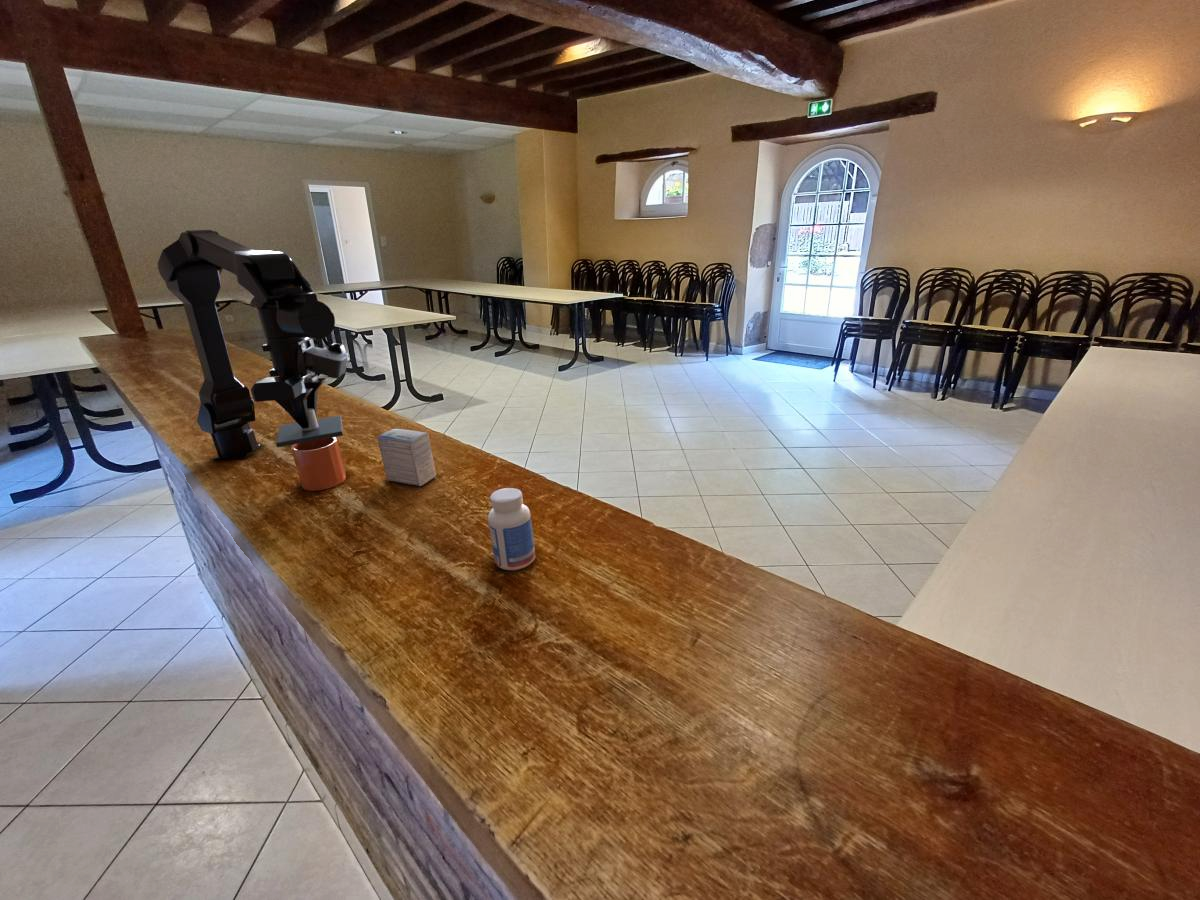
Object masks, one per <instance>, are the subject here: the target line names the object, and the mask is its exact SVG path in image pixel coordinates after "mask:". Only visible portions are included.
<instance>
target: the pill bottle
mask: <svg viewBox="0 0 1200 900" xmlns="http://www.w3.org/2000/svg"><path fill="white" fill-rule="evenodd" d="M489 498H490V506H491V508H492V509H491V510H490V511H489V512H488V516H487V521H488V528H489V532H490V533H489V534H490V539H491V546H492V553H493V559H494V562H495V564H496V566H497V567H498V568H500V569H502V570H506V571H517V570H521V569H524V568H526V567H528V566H530V565H531V564H532V563H533V562H534V560H535V558H536V550H535V542H534V533H533V526H532V519H531V511H530V508H529V506H527V505H525V504H524V499H523V493H522V491H521V490H520V489H519V488H514V487H505V488H500V489H497V490H495V491H493V492H492V493H491V494H490V497H489Z"/></svg>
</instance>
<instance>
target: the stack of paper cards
mask: <svg viewBox="0 0 1200 900" xmlns="http://www.w3.org/2000/svg"><path fill="white" fill-rule="evenodd" d="M377 443H378V446H379V451H380V456H381V459H382V465H383V469H384V473H385V478H386V480H387V481H390V482H396V483H401V484H406V485H407V484H408V485H413V486H418V487H421V486H423V485H425V484H427V483H428V482H430V481H431V480H434V478H436V477H437V473H436V468H435V463H434V458H433V453H432V447H431V441H430V437H429V434H428V432H425V431H424V432H423V431H417V430H412V429H411V430H409V429H402V428H392V429H390V430H387V431H385V432H384V433H382V434H380V435H378V436H377Z"/></svg>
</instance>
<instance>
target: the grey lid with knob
mask: <svg viewBox="0 0 1200 900" xmlns="http://www.w3.org/2000/svg"><path fill="white" fill-rule="evenodd" d="M308 417H309V427H308V428H302V427H301V426H300V425H299V424H298V423H297V422H292V423H287V424H286V423H285V424H280V425H279V430H278V432H277V436H276V442H275V445H276V448H283V447H287V446H293V445H294V444H299V443H305V442H310V441H316V440H321V439H327V438H332V437H335V438H337V437H342V436H343V435H344V432H343V422H342V416H341V415H340V414H338V415H334V416H327V417H321V418H317V415H316V416H315V412H314V409H308Z"/></svg>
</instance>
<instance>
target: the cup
mask: <svg viewBox="0 0 1200 900" xmlns="http://www.w3.org/2000/svg"><path fill="white" fill-rule="evenodd" d="M290 450H291V452H292V453H291V454H292V457H293V461H294V464H295V469H296V470H297V474H298V479H299V482H300V486H301V488H302V489H303V490H305V491H310V492H311V491H312V492H314V491H315V492H316V491H323V490H324V491H325V490H327V489H332V488H335V487H336V486H339V485H340V484H342V483H344V482H345V480H346V479H347V474H346V470H345V466H344V462H343V458H342V454H341V451H340V446H339V443H338V438H337V437H332V438H327V439H321V440H316V441H310V442H305V443H299V444H294V445H290Z"/></svg>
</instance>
